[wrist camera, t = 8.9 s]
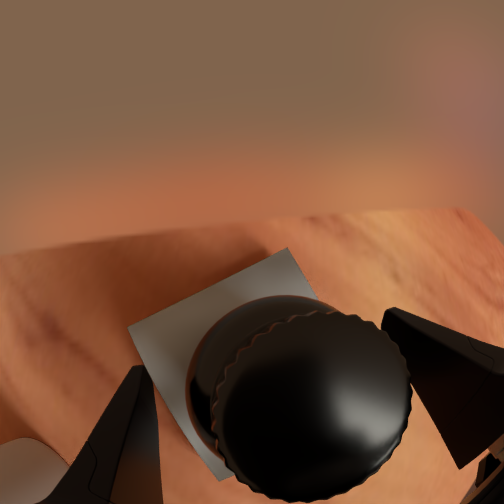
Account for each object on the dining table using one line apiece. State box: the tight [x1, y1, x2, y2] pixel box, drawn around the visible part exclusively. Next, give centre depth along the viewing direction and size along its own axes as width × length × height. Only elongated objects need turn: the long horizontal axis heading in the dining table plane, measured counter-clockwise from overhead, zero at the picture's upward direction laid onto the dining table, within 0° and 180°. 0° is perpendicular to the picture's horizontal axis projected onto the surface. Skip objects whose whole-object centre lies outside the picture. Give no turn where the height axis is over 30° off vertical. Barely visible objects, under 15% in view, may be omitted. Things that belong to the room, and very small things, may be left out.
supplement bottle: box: [185, 295, 413, 503], centre depth 10 cm, size 7×7×12 cm
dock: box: [127, 248, 318, 481], centre depth 17 cm, size 12×12×2 cm
